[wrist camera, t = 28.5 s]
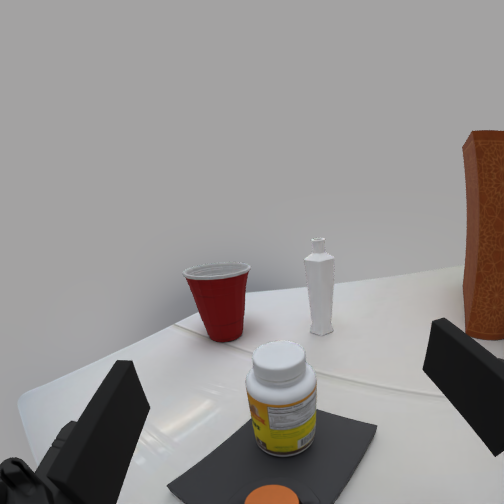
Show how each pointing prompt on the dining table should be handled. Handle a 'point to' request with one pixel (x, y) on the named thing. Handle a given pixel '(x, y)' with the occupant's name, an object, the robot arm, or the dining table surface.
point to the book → (484, 235)
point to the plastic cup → (220, 297)
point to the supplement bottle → (282, 398)
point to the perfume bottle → (320, 287)
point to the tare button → (272, 495)
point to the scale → (278, 465)
